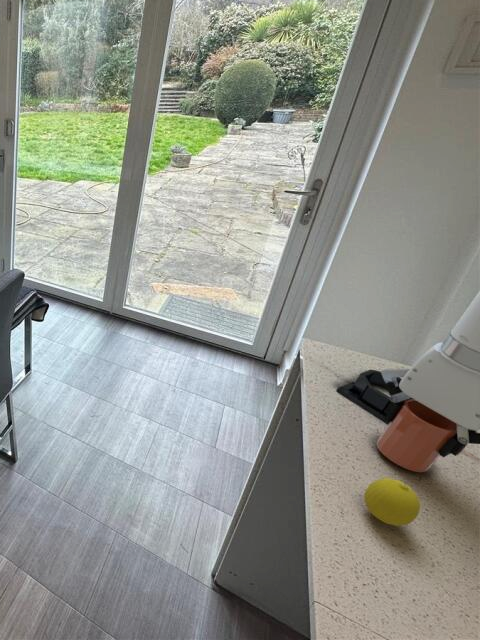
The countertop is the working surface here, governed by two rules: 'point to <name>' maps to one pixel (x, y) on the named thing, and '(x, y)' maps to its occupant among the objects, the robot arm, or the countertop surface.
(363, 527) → the countertop surface
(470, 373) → the robot arm
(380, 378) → the cup holder
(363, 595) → the countertop surface
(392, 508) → the lemon
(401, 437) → the cup
